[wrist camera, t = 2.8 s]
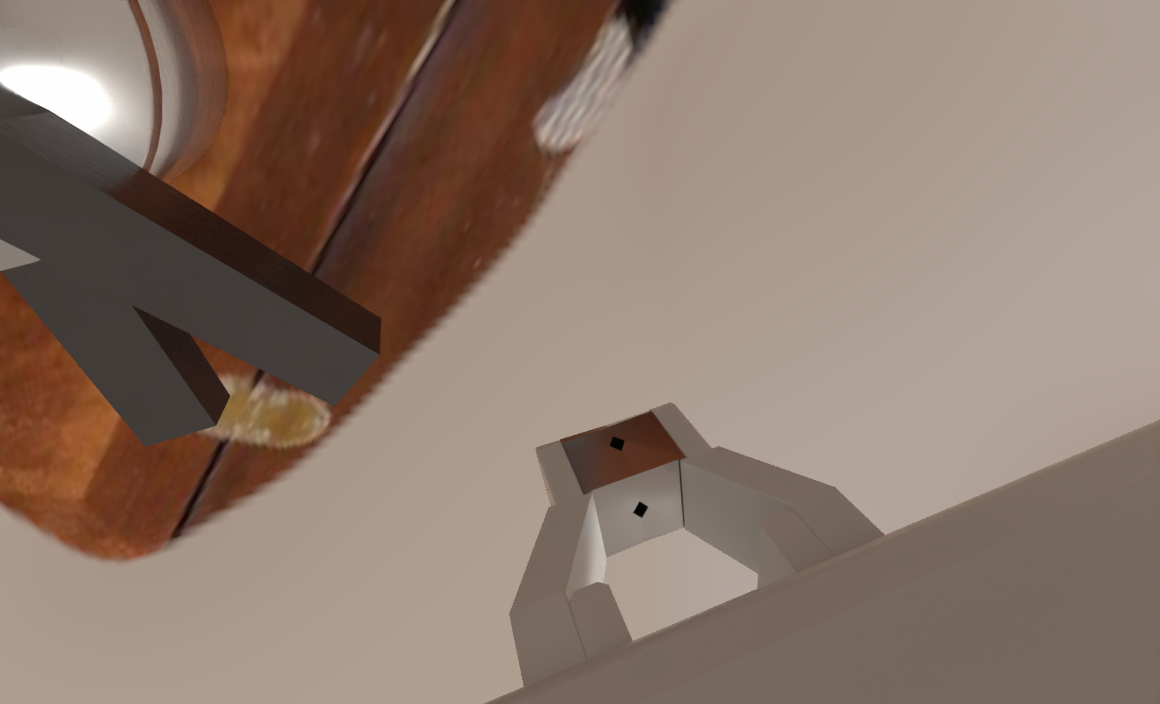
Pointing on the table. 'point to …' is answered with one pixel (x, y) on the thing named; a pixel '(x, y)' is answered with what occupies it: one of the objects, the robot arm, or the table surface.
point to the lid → (146, 202)
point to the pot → (112, 326)
